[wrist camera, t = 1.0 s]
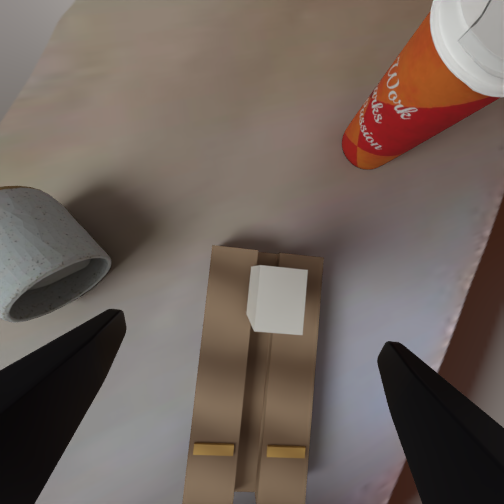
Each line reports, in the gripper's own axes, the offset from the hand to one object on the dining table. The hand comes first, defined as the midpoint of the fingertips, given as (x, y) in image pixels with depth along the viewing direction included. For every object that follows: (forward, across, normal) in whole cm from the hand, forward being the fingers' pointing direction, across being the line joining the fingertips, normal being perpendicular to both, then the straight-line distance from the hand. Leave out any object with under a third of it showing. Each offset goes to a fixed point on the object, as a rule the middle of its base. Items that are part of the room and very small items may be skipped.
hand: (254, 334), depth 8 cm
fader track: (+10, -1, +14) cm, 17 cm away
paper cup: (+24, -11, -5) cm, 26 cm away
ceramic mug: (+12, +18, +8) cm, 23 cm away
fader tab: (+12, -1, +7) cm, 14 cm away
